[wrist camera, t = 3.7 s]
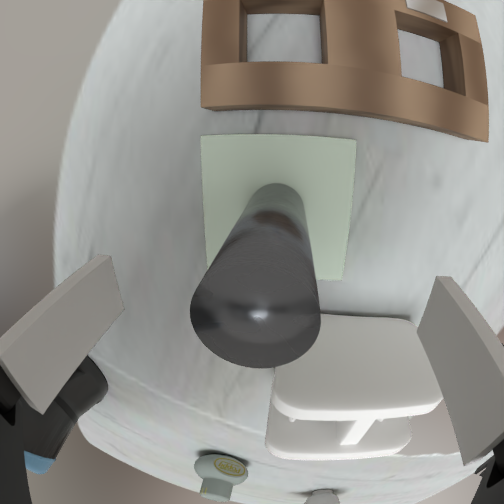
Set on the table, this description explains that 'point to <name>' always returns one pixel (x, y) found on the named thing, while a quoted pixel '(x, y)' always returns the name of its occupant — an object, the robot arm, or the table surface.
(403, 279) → the table surface
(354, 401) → the cable organizer
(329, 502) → the teacup
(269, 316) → the plug
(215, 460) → the air freshener
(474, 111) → the socket block
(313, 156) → the mat
